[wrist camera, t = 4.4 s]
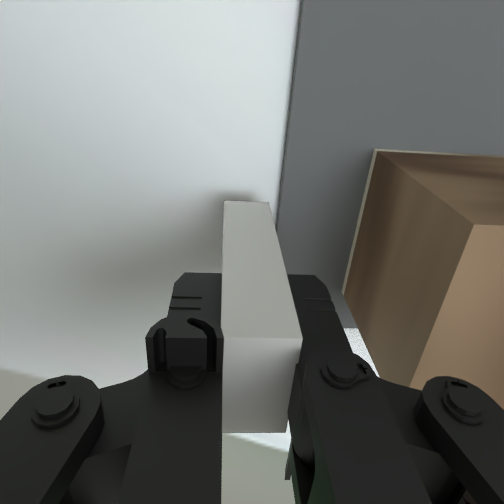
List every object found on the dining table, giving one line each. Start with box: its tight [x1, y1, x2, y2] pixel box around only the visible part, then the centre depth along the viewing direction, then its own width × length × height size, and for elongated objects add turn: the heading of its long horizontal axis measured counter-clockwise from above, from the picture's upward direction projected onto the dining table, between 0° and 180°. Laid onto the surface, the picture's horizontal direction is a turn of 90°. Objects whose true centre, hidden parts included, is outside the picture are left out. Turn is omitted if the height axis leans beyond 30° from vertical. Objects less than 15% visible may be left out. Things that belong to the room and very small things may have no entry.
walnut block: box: [342, 149, 504, 410], centre depth 12 cm, size 6×6×6 cm
